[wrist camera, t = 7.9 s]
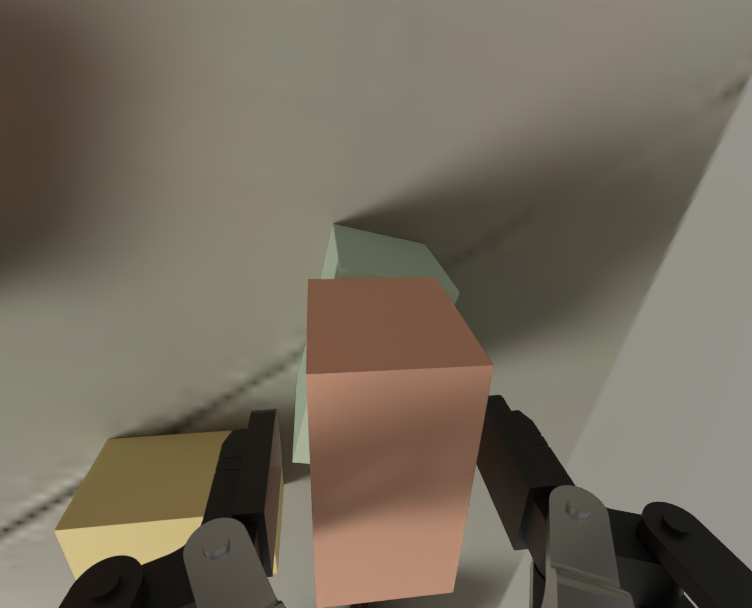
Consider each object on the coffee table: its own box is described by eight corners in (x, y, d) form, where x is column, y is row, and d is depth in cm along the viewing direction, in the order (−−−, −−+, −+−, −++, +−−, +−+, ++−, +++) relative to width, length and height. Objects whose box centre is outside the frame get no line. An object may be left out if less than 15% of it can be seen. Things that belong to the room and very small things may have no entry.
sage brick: (332, 223, 18) (339, 268, 13) (424, 243, 19) (459, 292, 14) (296, 382, 21) (292, 462, 16) (376, 393, 22) (393, 471, 17)
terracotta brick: (307, 279, 13) (306, 374, 9) (435, 276, 14) (493, 365, 9) (315, 471, 17) (316, 608, 12) (417, 463, 17) (453, 592, 13)
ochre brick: (127, 496, 23) (82, 595, 18) (108, 437, 21) (53, 530, 17) (284, 482, 24) (277, 573, 19) (278, 425, 22) (269, 510, 18)
